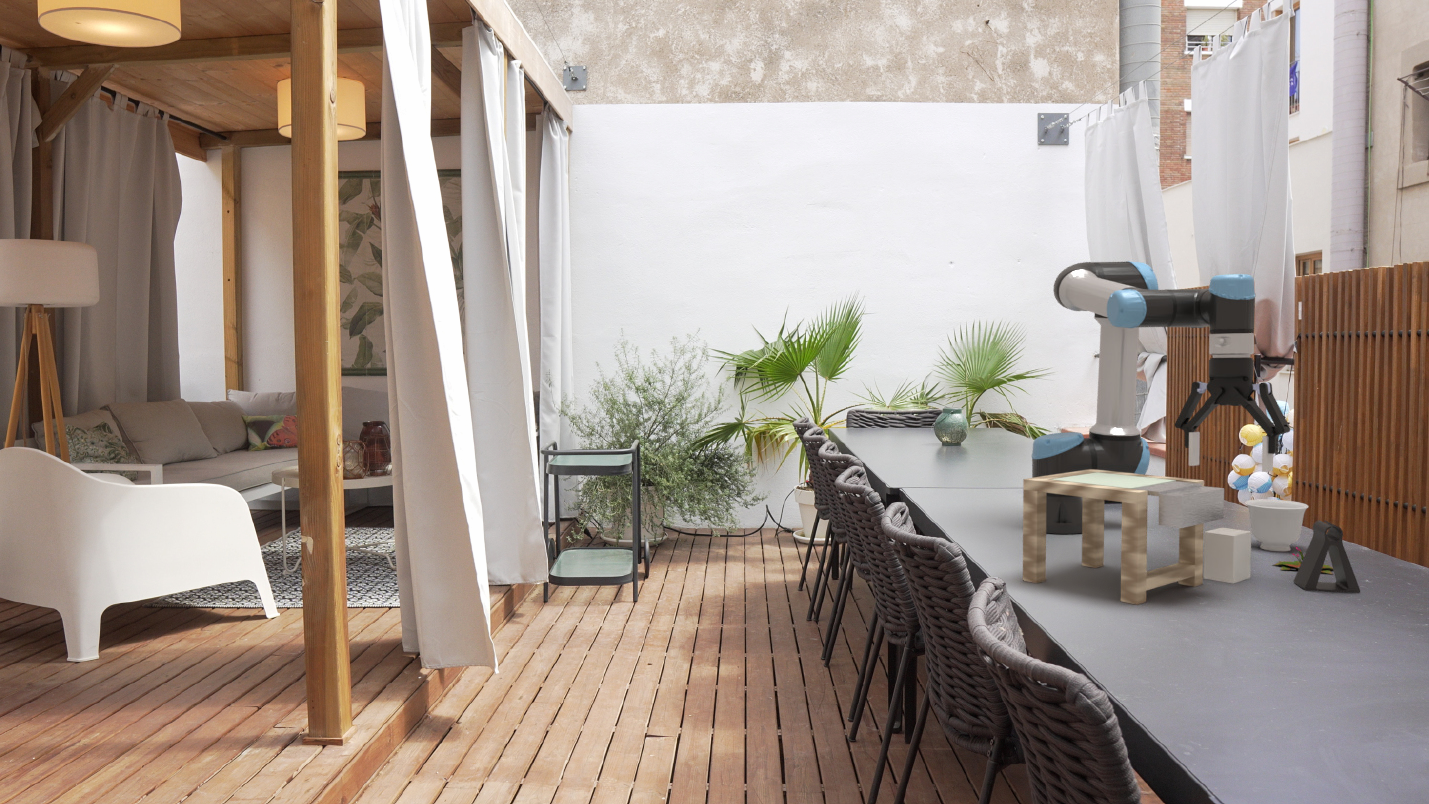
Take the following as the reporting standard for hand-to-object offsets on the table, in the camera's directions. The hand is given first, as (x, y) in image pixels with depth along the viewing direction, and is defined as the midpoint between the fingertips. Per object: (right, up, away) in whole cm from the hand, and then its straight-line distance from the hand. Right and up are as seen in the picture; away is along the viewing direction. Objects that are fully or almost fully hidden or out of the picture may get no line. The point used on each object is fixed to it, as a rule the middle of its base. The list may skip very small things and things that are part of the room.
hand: (1229, 468), depth 185 cm
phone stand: (+14, -22, -7) cm, 27 cm away
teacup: (+25, -20, +29) cm, 43 cm away
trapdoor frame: (-23, -22, -1) cm, 31 cm away
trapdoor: (-20, -8, -5) cm, 23 cm away
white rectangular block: (0, -21, +1) cm, 21 cm away
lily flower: (+20, -21, +9) cm, 30 cm away
